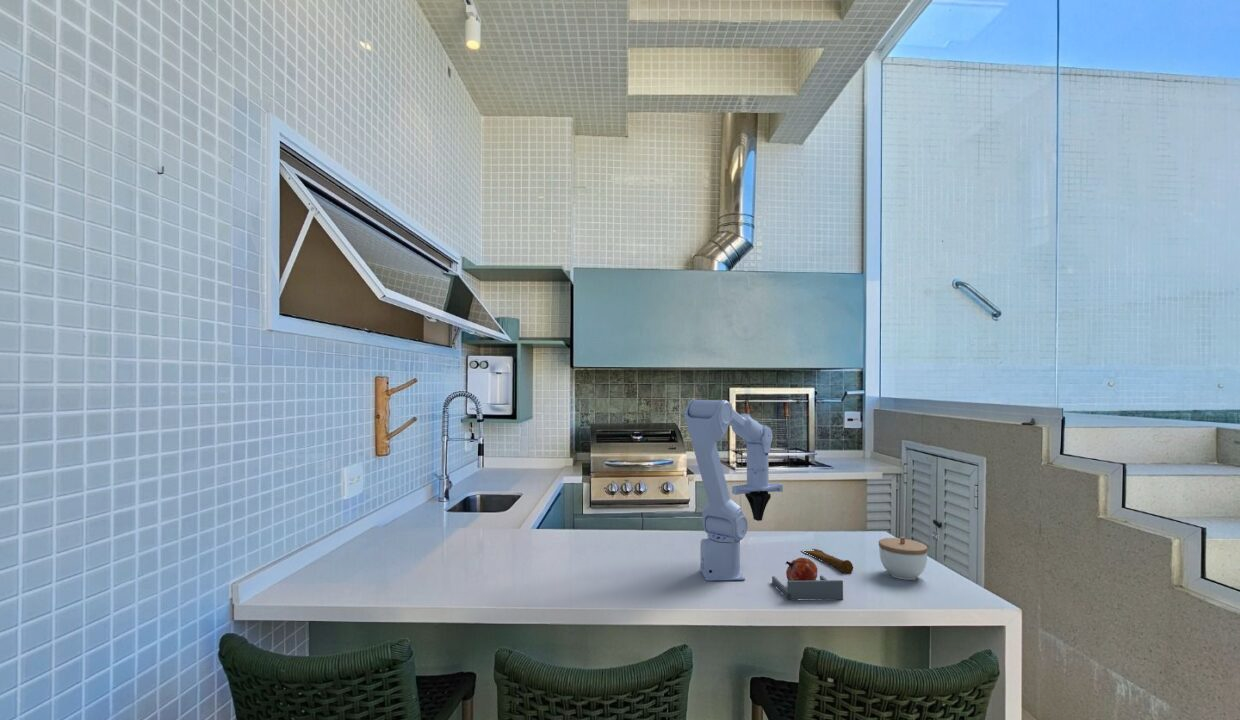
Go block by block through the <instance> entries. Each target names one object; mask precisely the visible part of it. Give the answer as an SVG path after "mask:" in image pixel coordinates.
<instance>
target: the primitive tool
mask: <svg viewBox="0 0 1240 720" xmlns="http://www.w3.org/2000/svg"><path fill="white" fill-rule="evenodd" d="M811 549H812V550H814V551H804V552H806V553H808V554H810V555H812V556H814V557H816V558H818V559H820V560H822V561H823V562H822V561H821V562H822V563H824V562H825V564H826V563H827V564H826V565H828V564H829V566H831V565H832V566H831V567H833V566H834V567H833V568H835V567H836V569H838V570H840V572H841V573H842V574H844V573H847V574H848V573H849V574H851V573H852V572H853V571H854V570H853V569H854V565H853V563H852V562H851V560H849V559H846V560H845V559H844V560H843V559H839V558H838V557H834V556H833V555H830V554H828V553H825V552H824V551H823V550H820V549H817V548H811ZM814 557H813V558H814ZM816 558H815V559H816ZM818 559H817V560H818ZM820 560H819V561H820Z"/></svg>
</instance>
